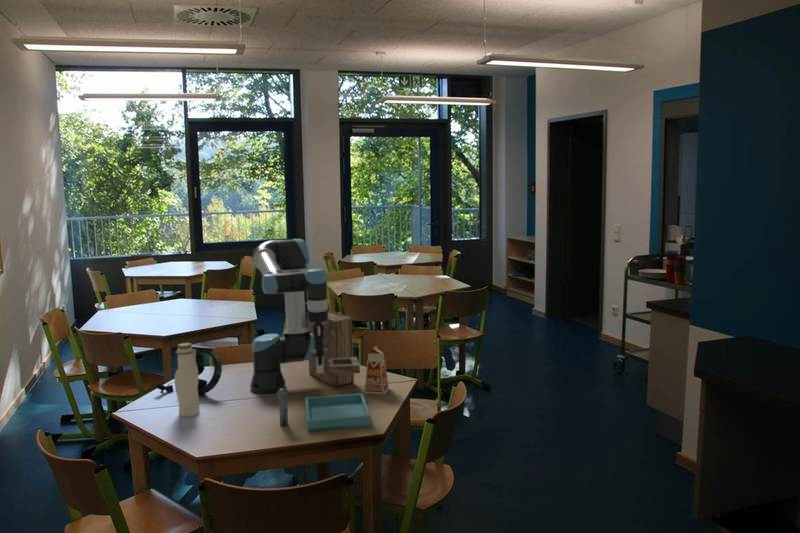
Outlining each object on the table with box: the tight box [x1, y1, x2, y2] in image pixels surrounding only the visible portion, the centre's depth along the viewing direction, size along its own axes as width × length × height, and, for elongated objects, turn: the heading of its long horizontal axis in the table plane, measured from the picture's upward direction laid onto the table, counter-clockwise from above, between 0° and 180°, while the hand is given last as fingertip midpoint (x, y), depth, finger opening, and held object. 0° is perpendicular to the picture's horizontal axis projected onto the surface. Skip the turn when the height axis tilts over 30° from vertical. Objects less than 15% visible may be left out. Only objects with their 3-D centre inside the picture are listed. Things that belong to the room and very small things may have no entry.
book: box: [306, 309, 355, 389], centre depth 300 cm, size 25×9×30 cm, turn 35°
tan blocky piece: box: [311, 348, 361, 375], centre depth 252 cm, size 12×18×8 cm
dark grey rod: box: [276, 387, 289, 427], centre depth 247 cm, size 4×4×14 cm
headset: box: [155, 350, 223, 396], centre depth 284 cm, size 18×14×29 cm
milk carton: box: [363, 345, 389, 395], centre depth 283 cm, size 9×9×20 cm
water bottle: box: [174, 342, 200, 418], centre depth 261 cm, size 10×9×28 cm
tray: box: [304, 392, 372, 433], centre depth 255 cm, size 26×23×4 cm
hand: (319, 370), depth 252 cm, fingers closed on tan blocky piece, 5 cm apart
